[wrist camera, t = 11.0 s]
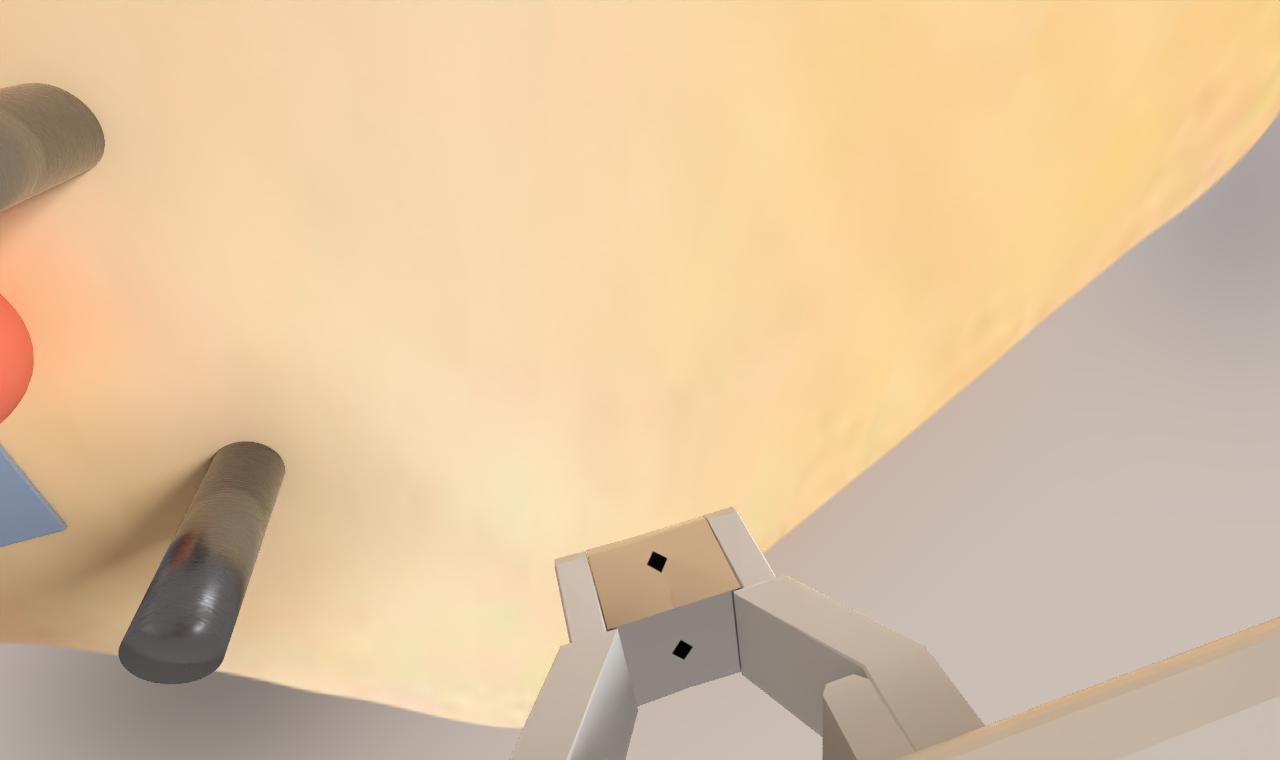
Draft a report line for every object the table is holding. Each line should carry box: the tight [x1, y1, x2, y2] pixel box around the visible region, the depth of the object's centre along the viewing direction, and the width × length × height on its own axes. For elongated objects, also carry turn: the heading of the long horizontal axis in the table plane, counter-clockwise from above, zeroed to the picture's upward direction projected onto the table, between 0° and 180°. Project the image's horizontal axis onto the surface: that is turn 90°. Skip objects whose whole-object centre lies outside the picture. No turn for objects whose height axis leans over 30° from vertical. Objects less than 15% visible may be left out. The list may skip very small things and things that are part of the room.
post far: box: [119, 442, 285, 684], centre depth 23 cm, size 3×3×9 cm
